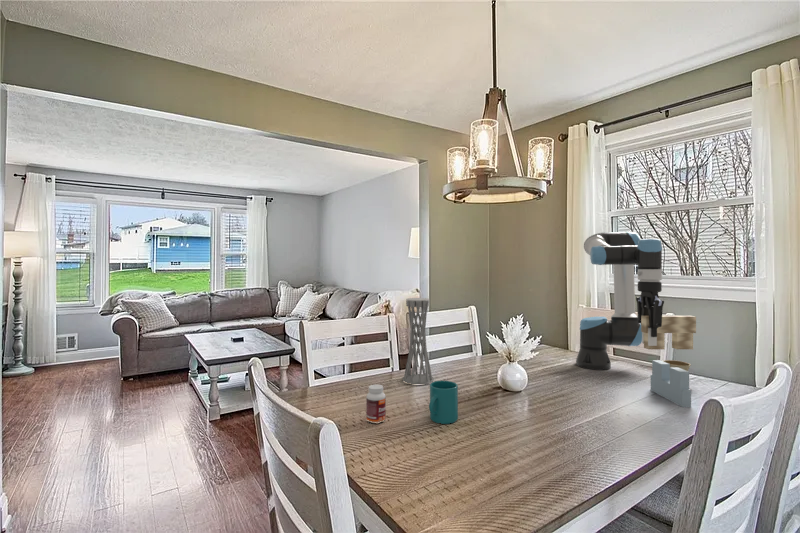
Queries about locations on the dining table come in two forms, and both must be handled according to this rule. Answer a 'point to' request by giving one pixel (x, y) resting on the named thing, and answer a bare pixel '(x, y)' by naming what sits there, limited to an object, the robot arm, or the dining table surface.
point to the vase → (418, 343)
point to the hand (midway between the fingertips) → (649, 344)
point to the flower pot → (678, 364)
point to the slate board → (671, 383)
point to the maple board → (672, 331)
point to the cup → (443, 402)
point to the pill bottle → (375, 404)
